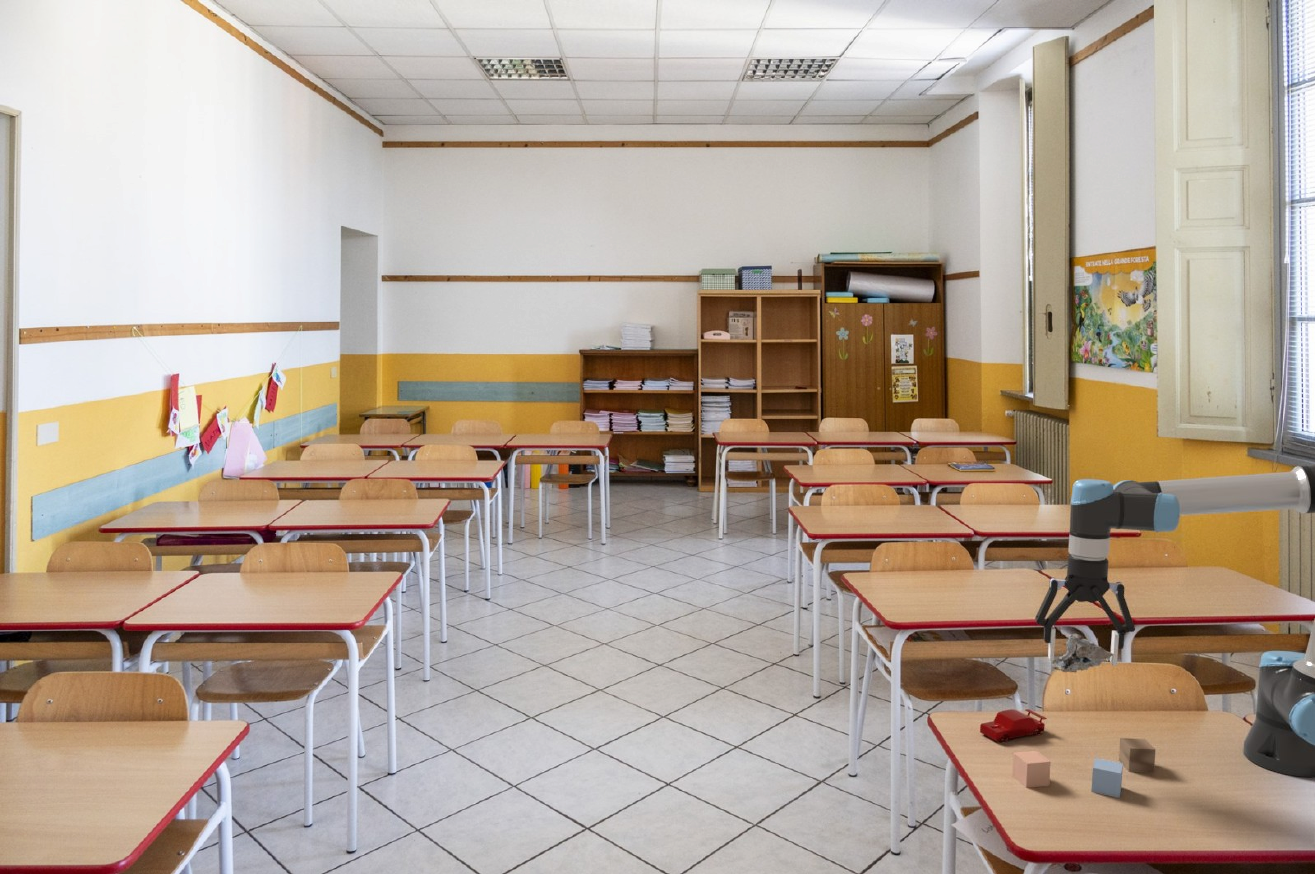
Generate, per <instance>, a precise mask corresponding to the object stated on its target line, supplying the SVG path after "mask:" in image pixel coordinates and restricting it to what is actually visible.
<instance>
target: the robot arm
mask: <svg viewBox="0 0 1315 874" xmlns="http://www.w3.org/2000/svg"><path fill="white" fill-rule="evenodd" d="M1071 491H1072V492H1071V500H1070V518H1069V538H1068V554H1069V555H1068V556H1067V567H1066V569H1067V570H1066V576H1065V578H1064V579H1057V578H1055V577H1050V579H1049V585H1048V590H1047V593H1046V594H1045V597H1044V598H1043V601H1042V602H1041V605H1040V606H1039V609H1038V611H1037V613H1036V615H1035V618H1034V620H1035V622H1036V625H1038V626H1042V627H1043V641H1044V643H1046V644H1048V649H1047V650H1048V652H1047V654H1048V655H1047V657H1048V660H1050V661H1052V662H1053V661H1054V660H1055V648H1056V647H1055V645H1056V630H1057V629H1056V628H1055V624H1056V623H1057V622H1058V621H1059V620H1060V618H1061V617H1062V615H1064V613H1065V612H1067V610H1068V609H1069V607H1071V605H1073V604H1074V603H1075V602H1076V601H1077V602H1078V603H1084V602H1085V603H1086V602H1088V603H1091V604H1092V603H1093V604H1095V603H1096V602H1098V603H1099V604H1100V606H1101V607H1102V609H1103V611H1104V612H1105V614H1106V615H1107V617H1108V619H1109V620H1110V621H1111V623H1112V625H1113V626H1114V627H1115V629H1116V630H1111V640H1110V641H1111V643H1110V652H1111V653H1113V655H1112V656H1111V657H1110V658H1109V662H1110V663H1111V665H1112V666H1113V667H1117V666H1118V655H1119V650H1123V649H1124V646H1125V644H1124V643H1125V636H1126V634H1127V633H1129V632H1131V633H1134V632H1135V631H1136V627H1135V625H1134V621H1133V618H1132V615H1131V613H1130V610H1129V607H1128V603H1127V600H1126V598H1125V586H1124V584H1123V583H1122V582H1121V581H1117V582H1109V579H1108V576H1109V575H1108V574H1109V559H1108V557H1109V556H1110V545H1111V544H1110V543H1111V542H1110V540H1111V530H1113V529H1114V530H1127V531H1128V530H1130V531H1146V532H1155V533H1160V532H1173V531H1175V530H1176V529H1178V526H1179V523H1180V518H1181V517H1180V516H1196V515H1212V514H1228V513H1244V512H1245V513H1250V512H1264V511H1281V510H1282V511H1283V510H1295V511H1297V512H1298V513H1299V514H1303V515H1304V514H1315V464H1311V465H1298V466H1295V467H1294V468H1293V469H1292V470H1290V471H1286V472H1285V471H1283V472H1270V473H1256V474H1242V475H1241V474H1240V475H1228V476H1227V475H1225V476H1210V477H1197V478H1196V477H1195V478H1183V479H1169V480H1156V481H1141V482H1140V481H1139V482H1138V481H1135V480H1129V479H1127V480H1125V479H1124V480H1121V481H1119V482H1116V483H1115V484H1114V485H1113V483H1112V482H1111V481H1108V480H1103V479H1093V478H1084V479H1083V478H1082V479H1081V478H1080V479H1078V480H1076V481H1075V482H1074V483H1073V485H1072V490H1071ZM1062 587H1065V588H1066V589H1067V593H1066V594H1065V595H1064V596H1063V598H1062V600H1061V601H1060V602H1059V603H1058V605H1057V606H1056V607H1055V608H1054V609H1053V610H1052V611H1051V613H1049V611H1050V610H1051V607H1052V605H1053V603H1054V600H1055V598H1056V596H1057V595H1058V594H1057V593H1058V591H1060V590H1061V589H1062ZM1109 590H1111V592H1112V594H1114V595H1115V597H1116V601H1117V604H1118V607H1119V609H1120V612H1121V617H1122V619H1123V621H1124V623H1125V624H1121V622H1120V621H1119V619H1118V617H1117V616H1116V614H1115V613H1114V611H1113V610H1112V608H1111V607H1110V605H1109V604H1108V602H1107V601H1106V598H1105V597H1104V595H1105V594H1106V593H1107V592H1108V591H1109ZM1048 613H1049V615H1048ZM1047 615H1048V616H1047ZM1046 617H1047V618H1046ZM1258 668H1259V672H1258V684H1257V685H1258V686H1257V697H1256V698H1257V699H1256V710H1255V711H1256V712H1255V719H1254V722H1253V723H1252V726H1251V727H1250V729H1249V731H1248V733H1247V735H1246V737H1245V739H1244V742H1243V749H1242V754H1243V755H1244V757H1246V758H1247V760H1249V761H1250V762H1251V763H1254V764H1255V765H1258V766H1259V767H1262V768H1264V769H1266V770H1267V769H1268V770H1270V771H1273V772H1277V773H1281V774H1284V775H1290V776H1295V777H1306V778H1311V777H1312V778H1313V777H1315V619H1314V620H1313V624H1312V627H1311V633H1310V636H1309V639H1308V643H1307V647H1306V652H1305V653H1304V652H1303V653H1302V652H1296V651H1286V650H1285V651H1284V650H1268V651H1266V652H1264V653H1263V654H1262V655H1261V658H1260V663H1259V665H1258Z"/></svg>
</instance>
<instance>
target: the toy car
mask: <svg viewBox="0 0 1315 874" xmlns="http://www.w3.org/2000/svg"><path fill="white" fill-rule="evenodd" d="M1024 711H1026V713H1027V712H1028V713H1027V714H1025V713H1024V712H1022V711H1019V710H1018V709H1014V708H1011V709H1006V710H1005V709H1004V710H1001V711H998V712H997V713H996V716H995V717H994V719H993V720H992V721H989V722H984V723H983V722H982V723H980V725H979V727H980V729H979V733H981V734H983V736H986V737H988V738H990V739H991V740H994V741H995V742H1000V743H1004V742H1005V743H1006V742H1007V741H1008V740H1010V739H1015V738H1020V737H1024V736H1025V737H1026V736H1030V735H1033V736H1035V735H1036V736H1038V735H1039V734H1040V735H1041V734H1042V732H1045V728H1046V727H1045V722H1042V721H1043V720H1047V719H1048V718H1047V717H1045V716H1043V715H1041V714H1039V713H1037V712H1035V711H1034V710H1031V709H1029V708H1026V709H1025V710H1024ZM1030 715H1033V716H1036V717H1037V718H1040V720H1038V719H1036V718H1035V717H1032V716H1030Z"/></svg>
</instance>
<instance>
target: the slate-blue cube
mask: <svg viewBox="0 0 1315 874" xmlns="http://www.w3.org/2000/svg"><path fill="white" fill-rule="evenodd" d="M1123 768H1124V766H1123V763H1121V762H1120V761H1118V762H1117V761H1113V760H1108V759H1102V758H1098V757H1094V761H1093V765H1092V775H1091V776H1092V777H1091V778H1092V779H1091V790H1090V791H1091V792H1092V793H1096V794H1101V795H1105V796H1109V797H1114V798H1121V791H1122V784H1123V783H1122V781H1123Z"/></svg>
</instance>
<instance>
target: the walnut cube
mask: <svg viewBox="0 0 1315 874" xmlns="http://www.w3.org/2000/svg"><path fill="white" fill-rule="evenodd" d="M1118 753H1119V754H1118V762H1119V763H1123V768H1125V769H1126V770H1127V771H1128V773H1130V772H1131V773H1155V765H1156V764H1155V762H1156V761H1155V760H1156V748H1155V747H1154V746H1153V745H1152V744H1151V743H1150V742H1149V741H1148V740H1147V739H1146V738H1129V737H1128V738H1126V737H1120V739H1119V752H1118Z"/></svg>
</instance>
